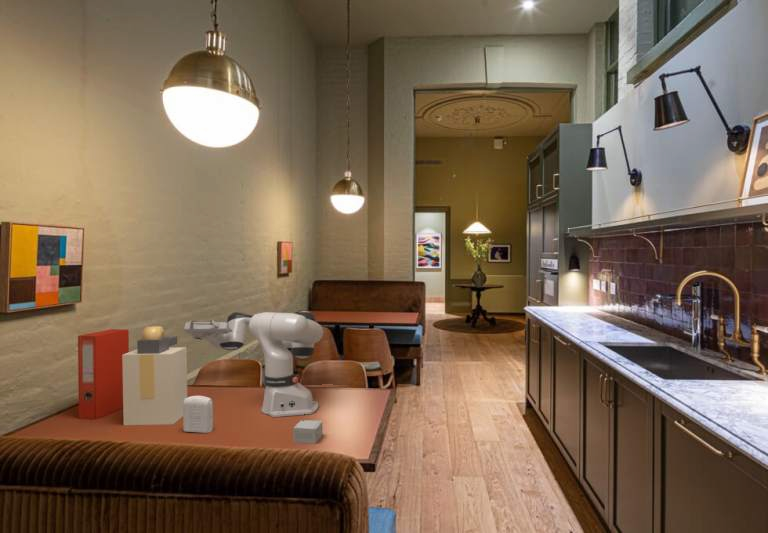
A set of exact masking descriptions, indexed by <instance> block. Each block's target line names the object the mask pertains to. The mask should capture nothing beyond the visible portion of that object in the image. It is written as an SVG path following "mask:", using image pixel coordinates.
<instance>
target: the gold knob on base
mask: <svg viewBox="0 0 768 533" xmlns="http://www.w3.org/2000/svg"><path fill="white" fill-rule="evenodd" d="M141 333H142V334H141V338H140V339H138V340H137V343H136V345H137V349H136V350H137V353H138V354H160V353H162V352H164V351H167V350H169V348H171V347H173V346H175V345H177V344H178V336H177V335H175V336H165V330H164V327H163V326H159V325H157V326H155V325H154V326H145V327H144V328H143V330H142V332H141Z"/></svg>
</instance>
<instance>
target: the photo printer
mask: <svg viewBox="0 0 768 533" xmlns="http://www.w3.org/2000/svg"><path fill="white" fill-rule="evenodd" d="M182 418H183V422H182V423H183V432H185V433H186V432H190V433H204V434H207V433H208V434H209V433H211V432H212V431H213V427H214V402H213V399H212V398H210V397H207V396H204V395H192V396H187V398H185V400H184V403H183V417H182Z"/></svg>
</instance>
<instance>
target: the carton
mask: <svg viewBox="0 0 768 533" xmlns="http://www.w3.org/2000/svg"><path fill="white" fill-rule="evenodd" d="M187 358H188V354H187V347H186V346H183V347H182V346H181V347H178V346H177V347H169V350H167V351H164V352H162V353H160V354H138V353H137V349H134V350H131V351H129V352H128V353H126V354H123V355H122V364H123V408H122V409H123V411H122V412H123V413H122V414H123V426H153V425H155V426H156V425H157V426H158V425H159V426H161V425H162V426H163V425H164V426H165V425H166V426H167V425H174V424H175V423H177V422H178V421H179V420H180V419H182V418H183V403H184V400H185V398H188V367H187V366H188V364H187V362H188V361H187ZM181 417H182V418H181Z"/></svg>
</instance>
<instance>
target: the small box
mask: <svg viewBox="0 0 768 533" xmlns="http://www.w3.org/2000/svg"><path fill="white" fill-rule="evenodd" d="M292 429H293V432H292V433H293V437H292V438H293V443H294V444H313V445H317V443H318V442H319V440H320V439H321V437H322V436H323V420H310V419H309V420H307V419H301V420H300V421H299V422H298V423H296V425H295V426H293V428H292Z"/></svg>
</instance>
